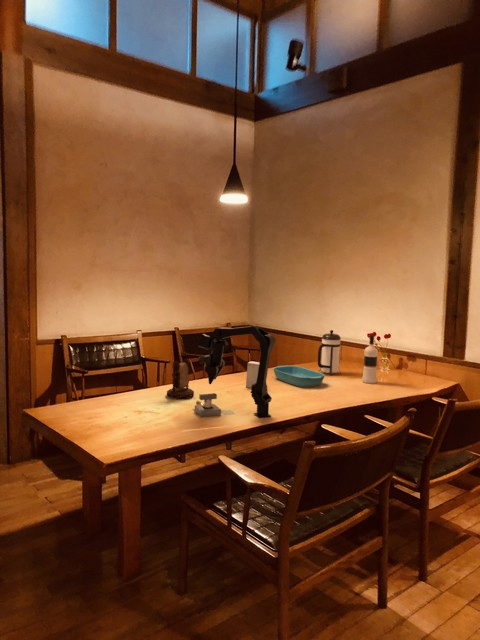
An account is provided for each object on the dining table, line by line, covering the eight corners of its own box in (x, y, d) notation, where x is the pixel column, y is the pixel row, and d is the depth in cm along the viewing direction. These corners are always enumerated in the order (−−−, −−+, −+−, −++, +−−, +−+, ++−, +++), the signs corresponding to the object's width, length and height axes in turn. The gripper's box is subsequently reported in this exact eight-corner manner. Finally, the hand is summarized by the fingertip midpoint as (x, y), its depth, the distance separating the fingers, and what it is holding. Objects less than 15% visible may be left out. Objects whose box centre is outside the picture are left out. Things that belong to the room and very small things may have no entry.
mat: (236, 415, 251) (236, 414, 251) (225, 416, 249) (225, 415, 249) (230, 410, 258) (230, 409, 258) (219, 411, 256) (219, 410, 256)
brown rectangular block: (216, 413, 251) (217, 394, 250) (200, 415, 247) (201, 395, 246) (214, 411, 254) (214, 393, 253) (198, 413, 251) (199, 394, 250)
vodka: (360, 382, 330) (363, 335, 327) (363, 380, 338) (366, 334, 335) (375, 384, 326) (377, 337, 323) (378, 381, 334) (380, 335, 331)
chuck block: (220, 416, 248) (221, 409, 248) (200, 418, 244) (201, 411, 244) (207, 405, 266) (207, 398, 266) (188, 407, 263) (188, 400, 262)
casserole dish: (331, 386, 319) (331, 374, 318) (302, 390, 307) (303, 378, 306) (293, 374, 350) (294, 364, 349) (266, 377, 338) (267, 366, 337)
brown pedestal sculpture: (179, 401, 273) (179, 363, 271) (161, 395, 283) (161, 359, 281) (199, 396, 284) (200, 360, 282) (181, 391, 294) (182, 356, 292)
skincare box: (245, 387, 309) (246, 362, 307) (249, 385, 314) (250, 360, 313) (259, 388, 306) (259, 364, 304) (262, 386, 311) (263, 362, 310)
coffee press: (316, 370, 364) (318, 328, 361) (340, 372, 362) (342, 329, 358) (317, 375, 347) (319, 331, 343) (341, 377, 345) (343, 332, 341)
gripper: (206, 345, 270) (201, 373, 273) (196, 352, 252) (191, 383, 254) (227, 349, 268) (222, 378, 271) (219, 357, 250) (213, 388, 253)
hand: (212, 381), depth 262 cm, fingers open, 9 cm apart
